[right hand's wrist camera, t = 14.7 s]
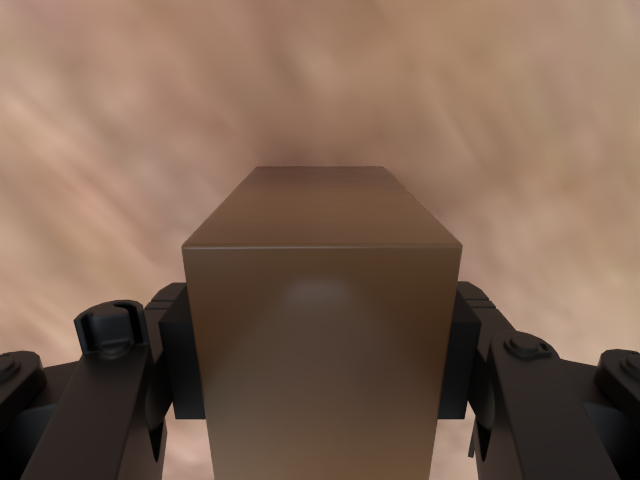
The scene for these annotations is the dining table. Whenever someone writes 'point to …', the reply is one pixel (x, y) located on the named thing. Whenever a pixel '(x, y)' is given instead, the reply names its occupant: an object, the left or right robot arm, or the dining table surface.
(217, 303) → the bar
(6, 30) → the dining table surface
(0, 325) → the dining table surface
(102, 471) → the right robot arm
